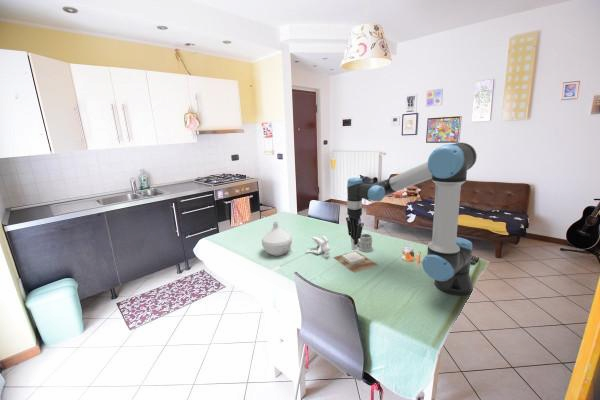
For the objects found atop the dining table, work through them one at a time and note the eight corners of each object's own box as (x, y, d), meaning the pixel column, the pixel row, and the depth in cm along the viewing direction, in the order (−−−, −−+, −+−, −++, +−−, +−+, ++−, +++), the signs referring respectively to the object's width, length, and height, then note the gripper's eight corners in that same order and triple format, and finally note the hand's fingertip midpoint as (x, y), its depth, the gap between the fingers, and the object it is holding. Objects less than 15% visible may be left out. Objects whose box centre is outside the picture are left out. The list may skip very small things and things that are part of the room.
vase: (298, 250, 171) (297, 221, 166) (276, 262, 158) (274, 230, 153) (278, 243, 183) (276, 215, 178) (256, 253, 170) (253, 223, 165)
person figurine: (303, 235, 167) (327, 236, 155) (316, 233, 176) (340, 234, 164) (303, 257, 166) (328, 260, 154) (316, 253, 176) (341, 256, 164)
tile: (365, 258, 151) (355, 251, 159) (351, 262, 147) (341, 255, 155) (365, 261, 151) (355, 254, 159) (351, 265, 148) (341, 258, 156)
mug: (366, 255, 161) (366, 235, 158) (351, 248, 170) (351, 230, 167) (375, 251, 165) (375, 232, 162) (360, 245, 174) (360, 227, 171)
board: (378, 267, 147) (378, 265, 146) (353, 275, 140) (353, 272, 140) (356, 252, 164) (356, 251, 164) (332, 259, 158) (332, 257, 158)
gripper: (368, 209, 141) (367, 252, 147) (353, 203, 152) (352, 243, 158) (356, 211, 138) (355, 255, 144) (341, 205, 149) (341, 246, 155)
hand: (354, 249), depth 151 cm, fingers closed
